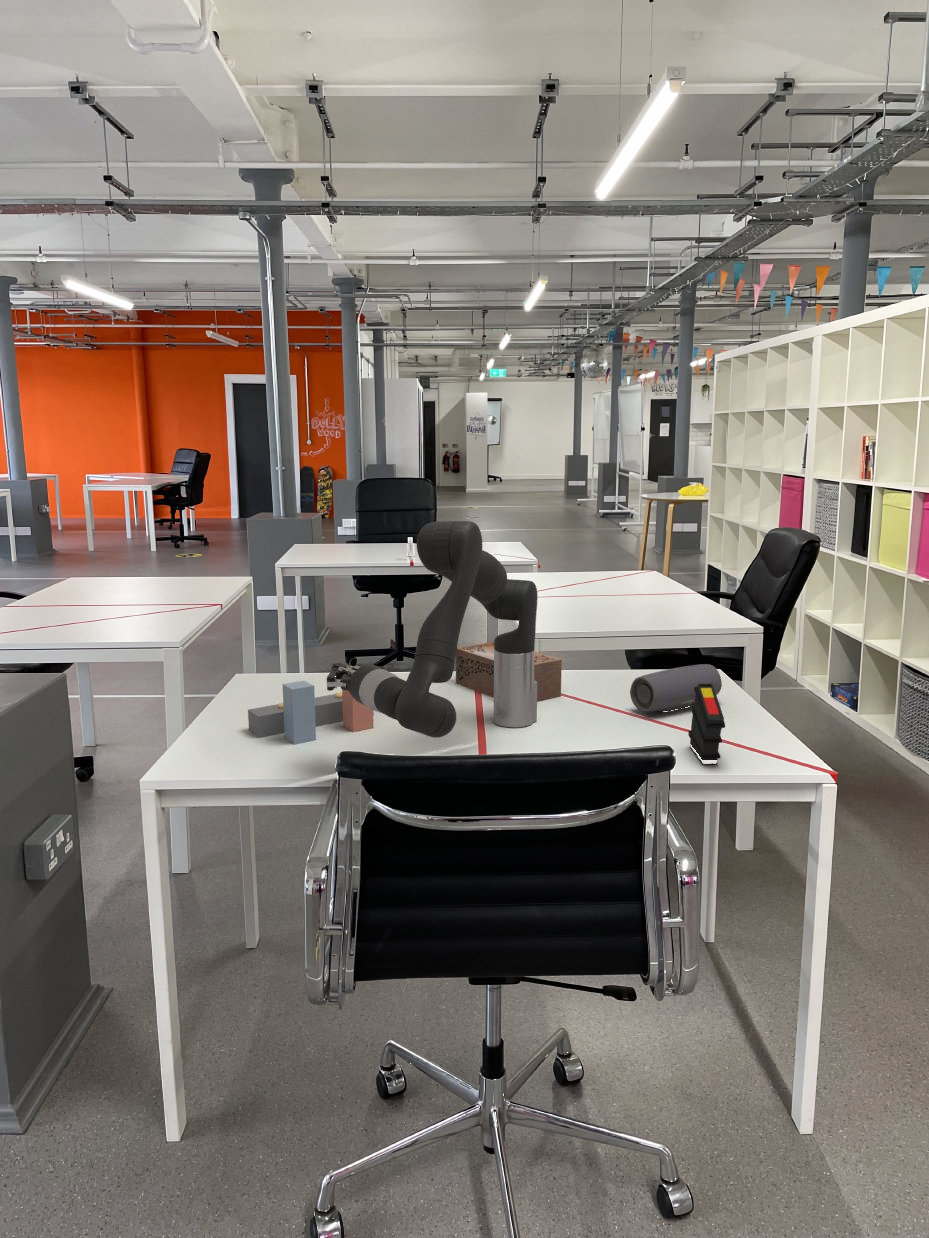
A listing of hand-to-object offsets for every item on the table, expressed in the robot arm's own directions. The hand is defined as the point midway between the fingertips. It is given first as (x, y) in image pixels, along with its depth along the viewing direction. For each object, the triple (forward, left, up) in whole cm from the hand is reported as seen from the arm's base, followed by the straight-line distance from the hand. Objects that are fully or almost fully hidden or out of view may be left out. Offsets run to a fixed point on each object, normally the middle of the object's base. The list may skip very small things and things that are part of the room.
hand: (335, 668), depth 178 cm
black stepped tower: (-63, +41, -20) cm, 78 cm away
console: (-5, -16, -19) cm, 26 cm away
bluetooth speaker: (-84, +14, -20) cm, 87 cm away
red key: (-12, -14, -18) cm, 26 cm away
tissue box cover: (-60, -22, -20) cm, 67 cm away
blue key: (+2, -14, -18) cm, 23 cm away
